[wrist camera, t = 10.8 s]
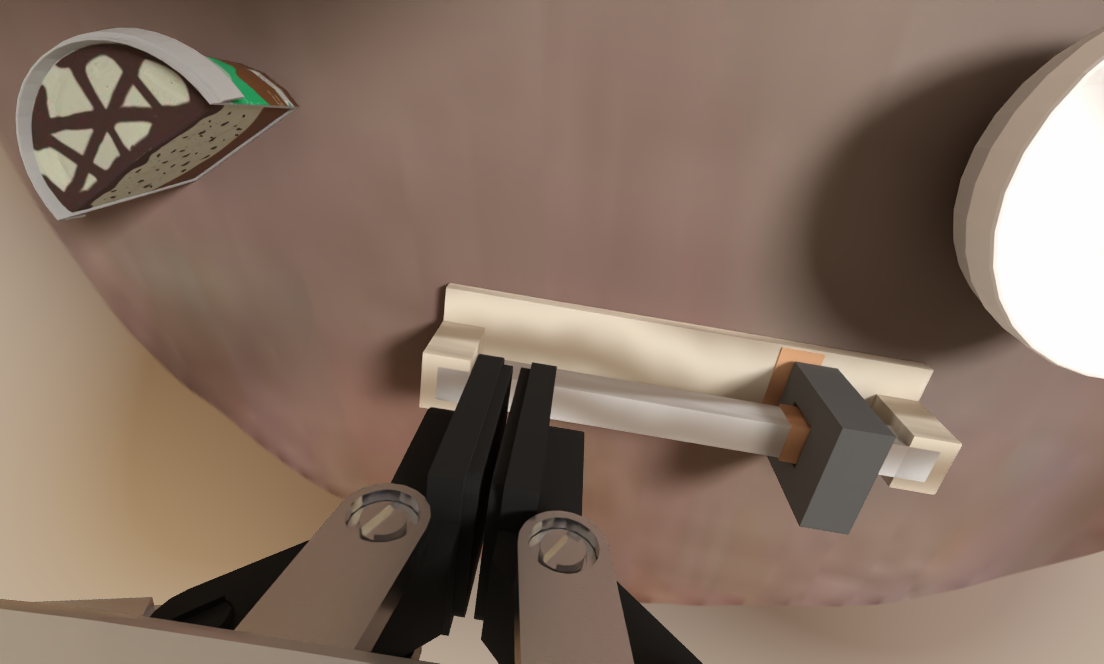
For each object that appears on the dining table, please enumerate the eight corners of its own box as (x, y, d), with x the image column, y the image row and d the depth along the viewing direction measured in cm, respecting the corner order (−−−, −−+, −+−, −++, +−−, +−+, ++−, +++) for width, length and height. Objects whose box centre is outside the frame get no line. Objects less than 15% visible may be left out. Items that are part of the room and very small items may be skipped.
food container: (251, -4, 33) (120, -38, 24) (317, 94, 35) (219, 97, 26) (113, 107, 36) (-49, 115, 27) (180, 192, 38) (51, 225, 29)
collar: (795, 361, 39) (842, 427, 31) (837, 368, 39) (896, 437, 31) (762, 446, 42) (799, 526, 34) (802, 453, 42) (848, 534, 34)
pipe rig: (449, 282, 40) (424, 317, 34) (925, 363, 39) (982, 411, 34) (440, 392, 43) (416, 439, 37) (876, 466, 43) (919, 525, 37)
